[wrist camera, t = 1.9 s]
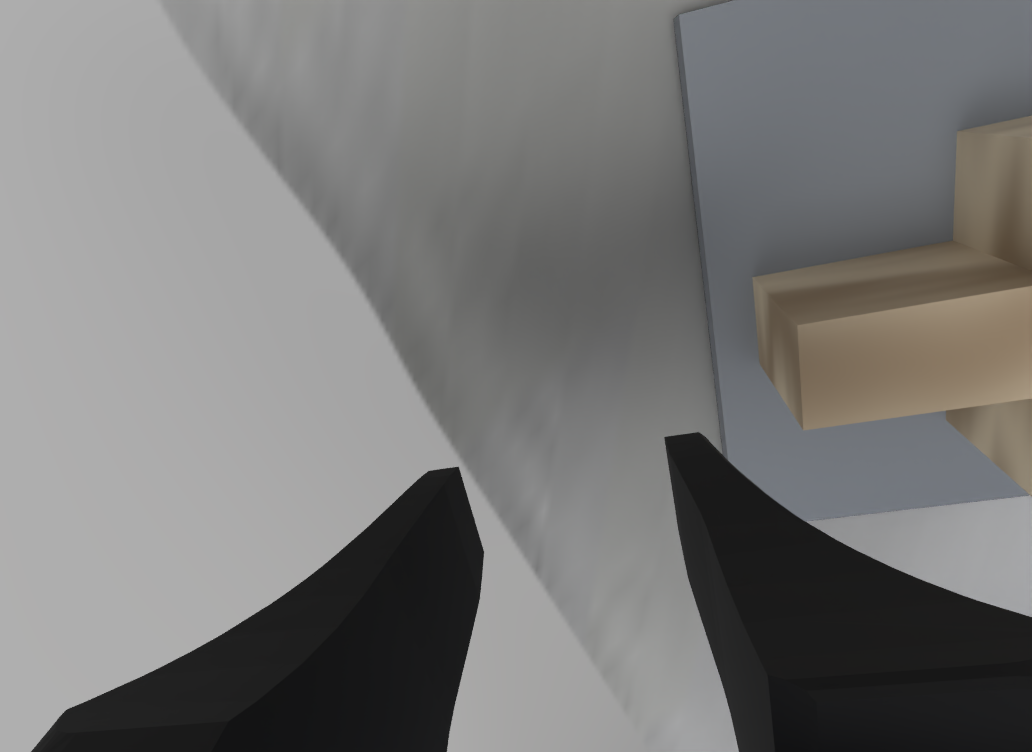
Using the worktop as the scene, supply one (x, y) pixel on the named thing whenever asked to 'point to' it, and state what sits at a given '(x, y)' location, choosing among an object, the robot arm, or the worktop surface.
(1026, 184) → the t block
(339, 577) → the robot arm
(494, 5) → the worktop surface
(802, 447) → the board
